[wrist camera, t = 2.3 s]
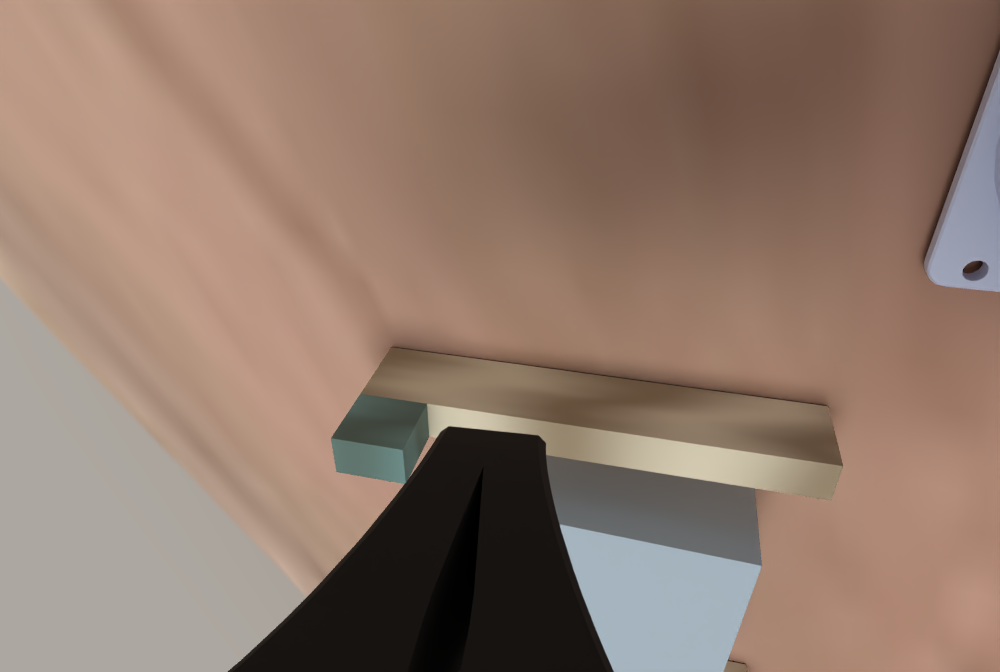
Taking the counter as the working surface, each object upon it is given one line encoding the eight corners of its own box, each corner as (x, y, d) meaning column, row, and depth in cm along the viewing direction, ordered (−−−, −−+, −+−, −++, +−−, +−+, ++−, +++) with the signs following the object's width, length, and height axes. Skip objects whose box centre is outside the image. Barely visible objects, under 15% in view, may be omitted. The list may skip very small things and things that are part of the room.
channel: (828, 406, 20) (858, 525, 16) (740, 683, 27) (747, 809, 23) (391, 347, 22) (330, 438, 19) (417, 615, 30) (377, 719, 26)
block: (753, 477, 22) (761, 565, 19) (709, 616, 26) (710, 707, 23) (535, 437, 23) (511, 514, 21) (523, 575, 27) (502, 656, 24)
